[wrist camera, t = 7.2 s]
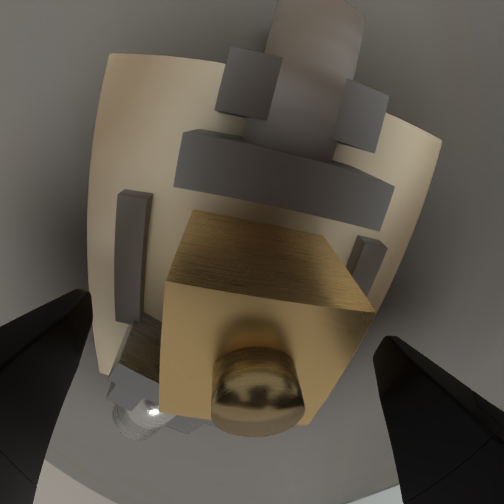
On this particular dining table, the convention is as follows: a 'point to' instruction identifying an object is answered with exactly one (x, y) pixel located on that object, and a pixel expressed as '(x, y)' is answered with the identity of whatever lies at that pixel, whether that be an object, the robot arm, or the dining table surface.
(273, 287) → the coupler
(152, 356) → the shaft
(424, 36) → the dining table surface
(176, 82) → the cream mounting plate
